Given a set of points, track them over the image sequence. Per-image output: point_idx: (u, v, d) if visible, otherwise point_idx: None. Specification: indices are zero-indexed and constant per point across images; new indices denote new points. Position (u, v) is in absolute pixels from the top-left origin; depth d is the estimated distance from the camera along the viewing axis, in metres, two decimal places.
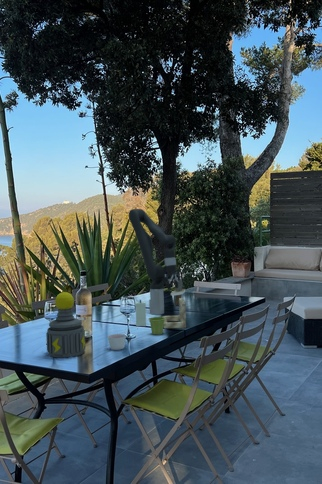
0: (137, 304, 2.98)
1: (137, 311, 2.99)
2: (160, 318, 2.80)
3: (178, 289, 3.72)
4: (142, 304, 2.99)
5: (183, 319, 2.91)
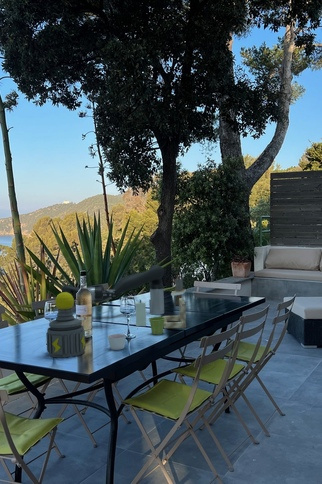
0: (137, 304, 2.98)
1: (137, 311, 2.99)
2: (160, 318, 2.80)
3: (178, 289, 3.72)
4: (142, 304, 2.99)
5: (183, 319, 2.91)
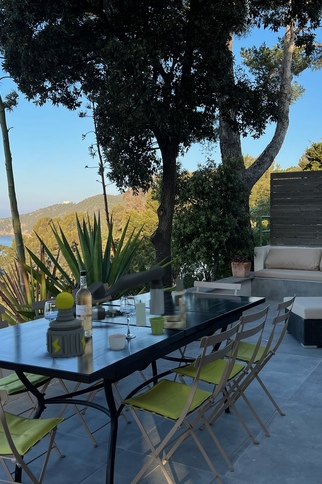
0: (137, 304, 2.98)
1: (137, 311, 2.99)
2: (160, 318, 2.80)
3: (179, 289, 3.72)
4: (142, 304, 2.99)
5: (183, 319, 2.91)
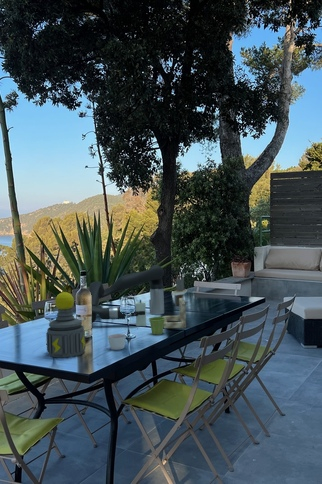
0: (137, 304, 2.98)
1: None
2: (160, 318, 2.80)
3: (179, 289, 3.72)
4: (142, 304, 2.99)
5: (183, 319, 2.91)
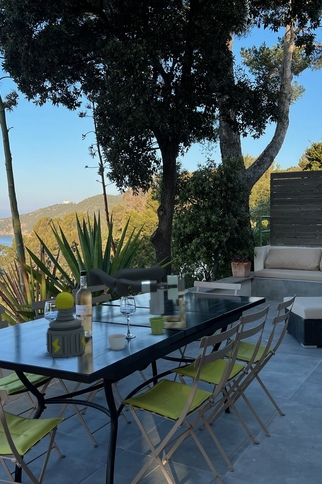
0: (169, 277, 2.99)
1: None
2: (160, 318, 2.80)
3: (180, 289, 3.72)
4: (174, 277, 2.99)
5: (183, 319, 2.91)
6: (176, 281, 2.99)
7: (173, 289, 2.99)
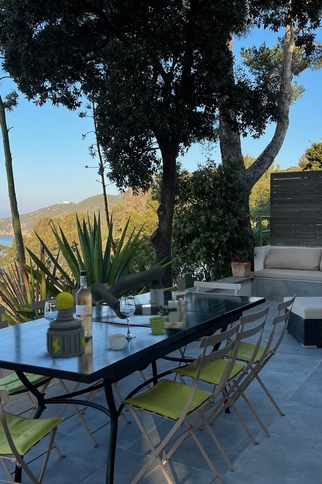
0: (170, 303, 2.99)
1: None
2: (160, 318, 2.80)
3: (181, 289, 3.72)
4: (175, 303, 2.99)
5: (183, 319, 2.91)
6: (177, 307, 2.99)
7: (174, 315, 2.99)
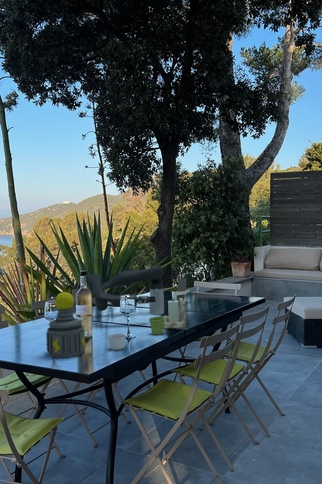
0: (170, 303, 2.99)
1: (170, 310, 2.99)
2: (160, 318, 2.80)
3: (181, 289, 3.72)
4: (175, 303, 2.99)
5: (183, 319, 2.91)
6: (177, 307, 2.99)
7: (174, 315, 2.99)
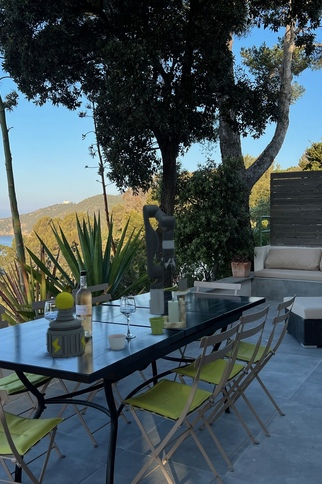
0: (170, 303, 2.99)
1: (170, 310, 2.99)
2: (160, 318, 2.80)
3: (182, 289, 3.72)
4: (175, 303, 2.99)
5: (183, 319, 2.91)
6: (177, 307, 2.99)
7: (174, 315, 2.99)
